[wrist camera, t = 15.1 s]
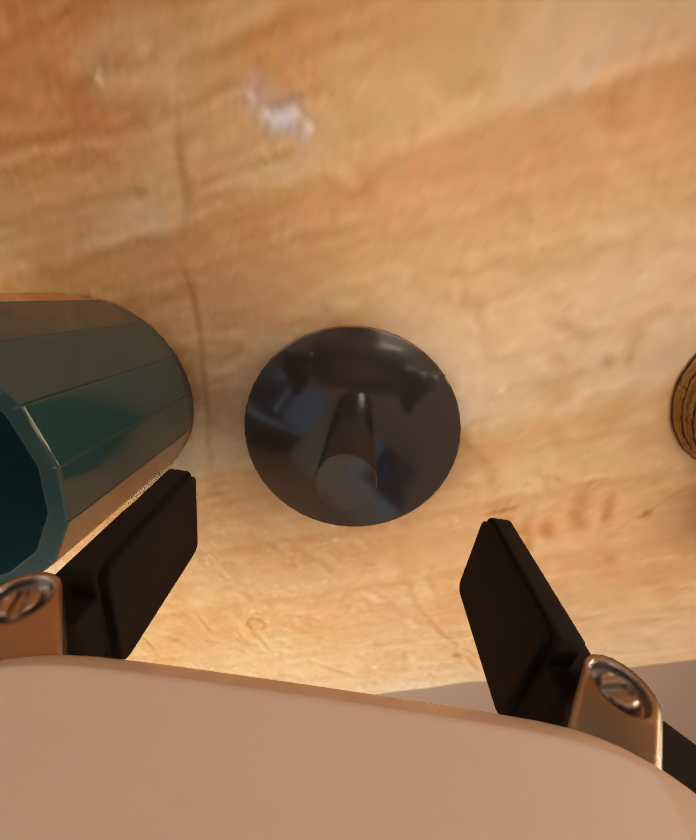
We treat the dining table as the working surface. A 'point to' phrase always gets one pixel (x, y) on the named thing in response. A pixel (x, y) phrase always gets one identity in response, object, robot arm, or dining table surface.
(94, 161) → the dining table surface
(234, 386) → the dining table surface
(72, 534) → the cup
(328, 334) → the lid
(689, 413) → the wooden mug
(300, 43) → the dining table surface
